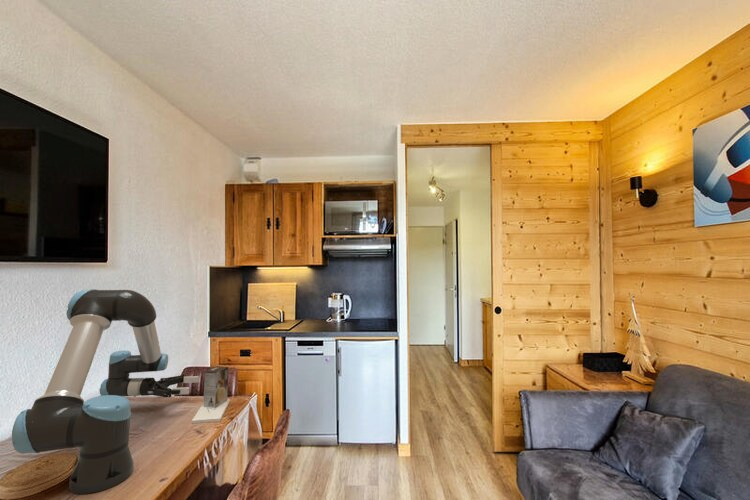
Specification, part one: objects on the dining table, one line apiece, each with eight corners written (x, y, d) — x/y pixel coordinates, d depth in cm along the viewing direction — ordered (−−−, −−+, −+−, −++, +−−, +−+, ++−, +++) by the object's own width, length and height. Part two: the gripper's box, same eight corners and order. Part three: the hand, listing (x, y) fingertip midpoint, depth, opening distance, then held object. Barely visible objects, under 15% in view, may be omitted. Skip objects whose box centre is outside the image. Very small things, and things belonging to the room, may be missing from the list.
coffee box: (215, 399, 161) (217, 365, 162) (227, 400, 159) (229, 366, 160) (202, 407, 152) (204, 371, 153) (215, 408, 150) (217, 372, 151)
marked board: (220, 421, 140) (220, 418, 140) (191, 423, 138) (191, 420, 138) (229, 401, 162) (229, 398, 162) (205, 403, 159) (205, 400, 159)
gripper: (154, 384, 161) (201, 382, 165) (127, 407, 137) (183, 405, 141) (155, 368, 161) (202, 367, 165) (128, 389, 137) (184, 387, 141)
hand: (194, 384), depth 153 cm, fingers open, 13 cm apart
